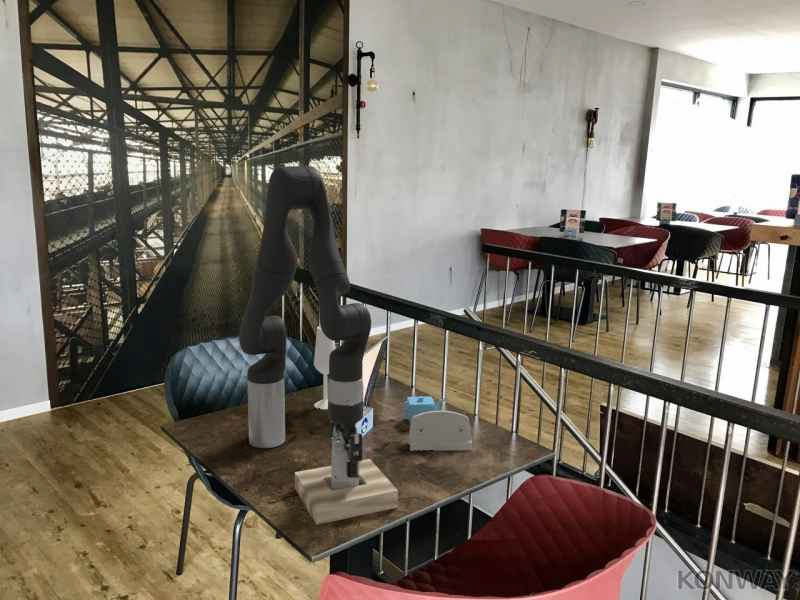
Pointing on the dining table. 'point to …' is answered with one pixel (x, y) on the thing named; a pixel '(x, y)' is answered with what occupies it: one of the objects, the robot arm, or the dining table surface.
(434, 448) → the grey arched bracket
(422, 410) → the light blue box
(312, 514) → the well block
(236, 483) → the dining table surface
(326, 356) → the champagne flute
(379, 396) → the dining table surface
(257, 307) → the robot arm
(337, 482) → the skincare box
